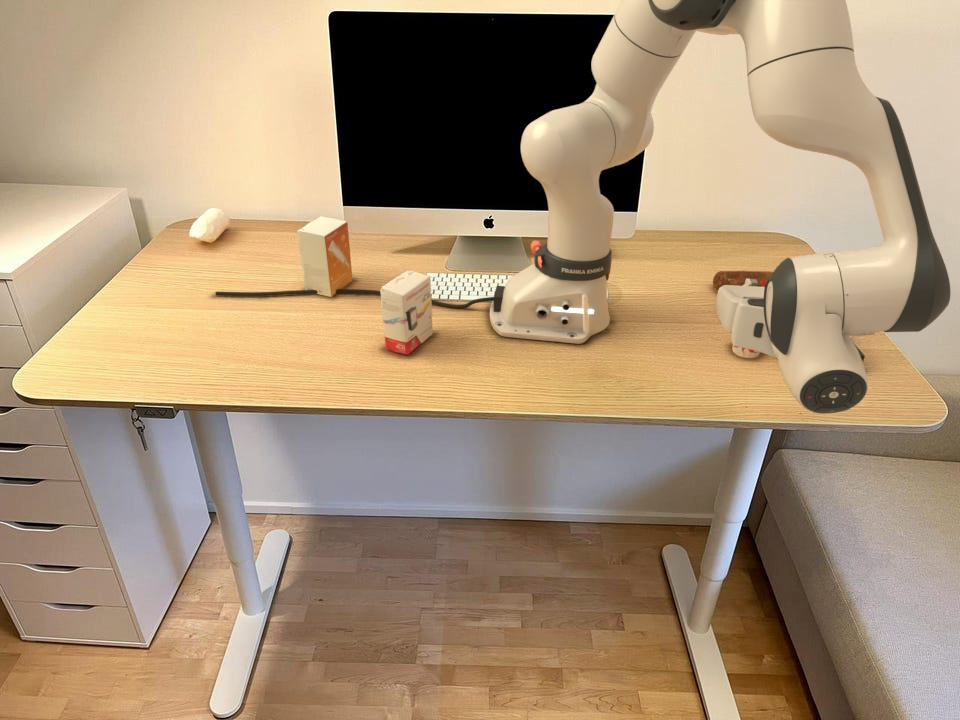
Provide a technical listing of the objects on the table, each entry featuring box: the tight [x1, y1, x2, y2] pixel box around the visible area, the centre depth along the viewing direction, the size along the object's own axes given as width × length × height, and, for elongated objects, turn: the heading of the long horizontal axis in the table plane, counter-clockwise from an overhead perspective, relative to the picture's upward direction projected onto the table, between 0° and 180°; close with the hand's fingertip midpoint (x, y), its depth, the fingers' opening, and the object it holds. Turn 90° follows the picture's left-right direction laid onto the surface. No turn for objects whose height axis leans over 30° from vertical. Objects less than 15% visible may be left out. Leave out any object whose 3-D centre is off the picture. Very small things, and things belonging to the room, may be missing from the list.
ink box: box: [379, 269, 434, 356], centre depth 123 cm, size 9×5×12 cm, turn 150°
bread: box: [712, 270, 774, 291], centre depth 141 cm, size 6×19×6 cm, turn 74°
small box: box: [296, 215, 353, 298], centre depth 139 cm, size 8×6×13 cm
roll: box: [189, 207, 231, 244], centre depth 158 cm, size 6×12×6 cm, turn 176°
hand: (783, 284), depth 105 cm, fingers open, 8 cm apart
